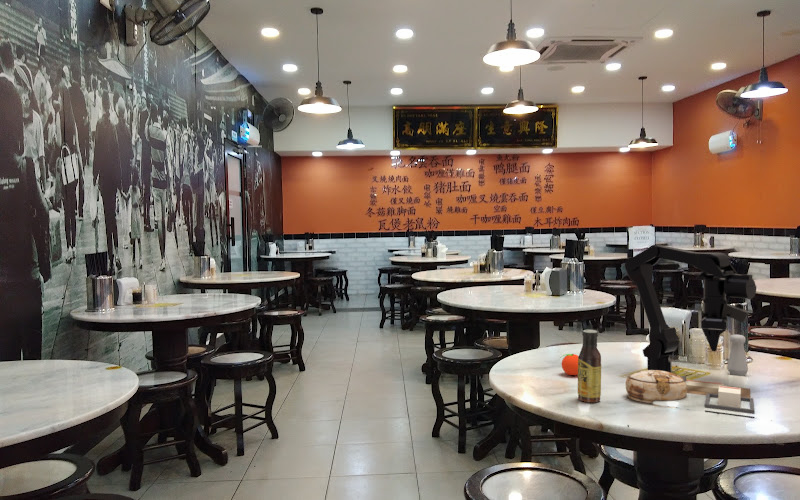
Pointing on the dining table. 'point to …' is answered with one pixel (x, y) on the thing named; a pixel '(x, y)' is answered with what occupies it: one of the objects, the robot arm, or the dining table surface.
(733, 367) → the salt shaker
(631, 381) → the trinket box
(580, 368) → the sauce bottle
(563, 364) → the clementine
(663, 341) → the robot arm
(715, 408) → the tray
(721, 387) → the stub
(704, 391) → the board
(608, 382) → the dining table surface
